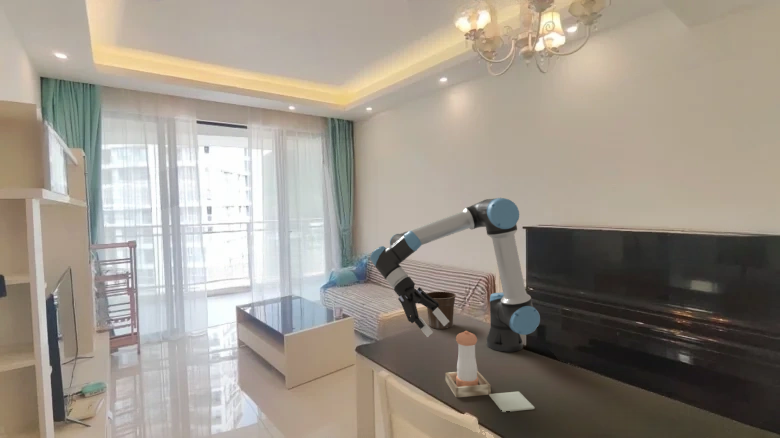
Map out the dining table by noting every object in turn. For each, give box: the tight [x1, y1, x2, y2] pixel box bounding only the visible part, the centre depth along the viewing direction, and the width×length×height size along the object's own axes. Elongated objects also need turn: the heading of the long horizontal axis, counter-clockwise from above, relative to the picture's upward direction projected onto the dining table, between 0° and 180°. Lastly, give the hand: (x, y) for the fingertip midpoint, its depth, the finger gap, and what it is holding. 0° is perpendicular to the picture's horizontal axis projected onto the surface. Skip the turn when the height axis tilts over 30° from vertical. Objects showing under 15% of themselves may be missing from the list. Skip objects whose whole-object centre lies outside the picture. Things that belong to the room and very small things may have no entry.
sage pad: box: [488, 390, 535, 413], centre depth 116 cm, size 10×10×1 cm
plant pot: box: [425, 291, 457, 330], centre depth 193 cm, size 16×16×16 cm
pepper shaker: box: [455, 330, 479, 387], centre depth 125 cm, size 7×7×19 cm
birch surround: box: [445, 369, 492, 399], centre depth 126 cm, size 12×12×3 cm
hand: (438, 329), depth 130 cm, fingers open, 13 cm apart
